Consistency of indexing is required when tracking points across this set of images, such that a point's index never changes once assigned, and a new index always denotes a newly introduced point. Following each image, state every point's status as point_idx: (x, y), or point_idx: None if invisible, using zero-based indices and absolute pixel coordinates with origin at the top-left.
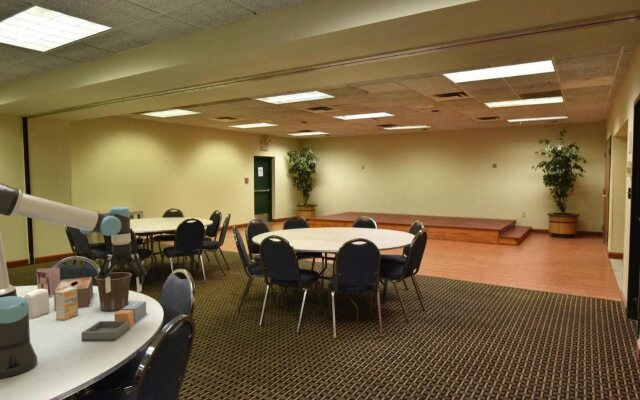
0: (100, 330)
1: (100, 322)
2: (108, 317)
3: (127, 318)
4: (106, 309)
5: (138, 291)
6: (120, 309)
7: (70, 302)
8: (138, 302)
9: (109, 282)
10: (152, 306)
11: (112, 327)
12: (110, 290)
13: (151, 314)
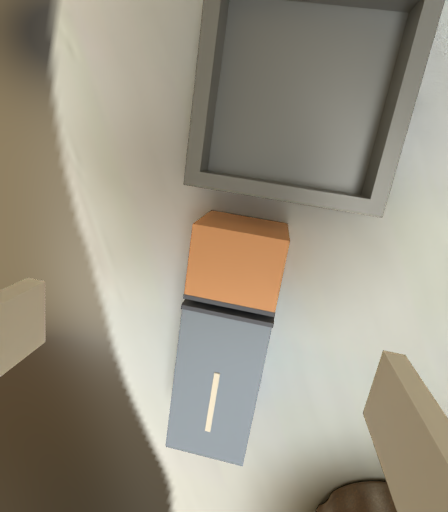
0: (348, 143)
1: (369, 198)
2: None
3: (206, 219)
4: None
5: (23, 281)
6: (337, 489)
7: None
8: (203, 438)
9: (409, 502)
10: (192, 491)
11: (289, 183)
12: (367, 414)
13: (159, 381)
